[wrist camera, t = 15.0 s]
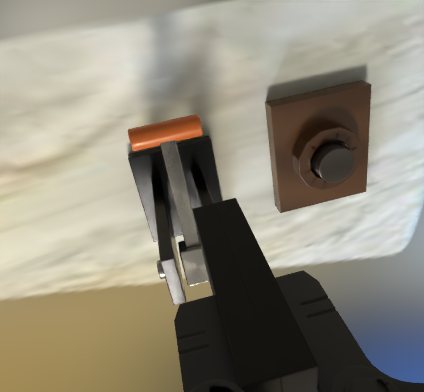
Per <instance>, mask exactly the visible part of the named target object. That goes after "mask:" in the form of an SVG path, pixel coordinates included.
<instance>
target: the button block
mask: <svg viewBox="0 0 424 392" xmlns="http://www.w3.org/2000/svg"><path fill="white" fill-rule="evenodd" d="M370 99H371V84H369V83H367V82H365V81H357V82H353V83H348V84H344V85H340V86H335V87H331V88H326V89H322V90H317V91H313V92H309V93H304V94H300V95H295V96H291V97H287V98H282V99H278V100H273V101H269V102H265V105H266V115H267V125H268V135H269V146H270V156H271V166H272V176H273V187H274V197H275V206H276V207H277V209H278V210H279V212H280V213H282V212H286V211H290V210H294V209H298V208H302V207H306V206H310V205H314V204H318V203H322V202H326V201H330V200H334V199H338V198H342V197H346V196H350V195H354V194H358V193H362V192H366V184H367V163H368V142H369V120H370ZM328 142H338V143H340V144H342V145H343V146H345V147H346V148H347V149H348V150H350V151H351V152H352V153H353V155H354V159H355V162H354V167H353V169H352V171H351V173H350V174H349V175H348V176H347V177H346V178H344V179H343V180H341V181H338V182H327V181H325V180H323V179H322V178H321V177H320V176H319V175H318V174H317V173H316V172H315V170H314V169H313V166H312V158H313V155H314V153H315V152H316V150H317V149H318V148H319V147H320V146H322V145H323V144H325V143H328Z"/></svg>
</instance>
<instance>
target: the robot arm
mask: <svg viewBox="0 0 424 392" xmlns="http://www.w3.org/2000/svg"><path fill="white" fill-rule="evenodd" d="M192 210H193V214H194V218H195V223H196V227H197V231H198V235H199V240H200V244H201V248H202V253H203V257H204V261H205V266H206V270H207V274H208V277H209V281H210V285H211V289H212V292H213V296H209V297H205V298H201V299H198V300H194V301H190V302H186V303H183V304H180V305H179V308H178V312H177V314H176V318H175V320H174V321H175V330H176V336H177V345H178V352H179V360H180V367H181V374H182V382H183V390H184V392H424V383H411V382H404V381H400V380H397V379H394V378H391V377H389V376H388V375H386V374H384V373H382V372H381V371H379V370H378V369H377V368H376V367H374V366H373V365H372V364H371V362H370V361H369V360H368V359H367V357H366V356H365V354H364V353H363V351H362V350H361V348H360V347H359V345H358V343H357V342H356V340H355V339H354V337H353V335H352V334H351V332H350V331H349V329H348V327H347V326H346V324H345V323H344V321H343V320H342V318H341V316H340V315H339V313H338V312H337V311H336V310H335V307H334V305H333V304H332V302H331V301H330V299H328V296H327V294H326V293H325V291H324V289H323V288H322V286H321V285H320V283H319V282H318V281H317V280H316V279H315V278H313V277H312V276H310V275H309V274H308V273H306V272H305V271H299V272H295V273H292V274H288V275H284V276H280V277H276V278H275V277H274V275H273V273H272V271H271V269H270V267H269V265H268V263H267V261H266V259H265V257H264V255H263V253H262V251H261V249H260V247H259V245H258V243H257V241H256V238H255V236H254V234H253V232H252V230H251V228H250V226H249V224H248V222H247V220H246V218H245V216H244V214H243V212H242V210H241V208H240V206H239V204H238V202H237V200H236V198H233V199H229V200H225V201H221V202H217V203H213V204H209V205H205V206H201V207H197V208H193V209H192Z"/></svg>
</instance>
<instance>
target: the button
mask: <svg viewBox="0 0 424 392" xmlns="http://www.w3.org/2000/svg"><path fill="white" fill-rule="evenodd" d="M354 162H355V159H354V155H353V153H352V152H351V151H350V150H348V149H347V148H346V147H345V146H343V145H342V144H340V143H338V142H328V143H325V144H323V145H322V146H320V147H319V148H318V149H317V150H316V152H315V153H314V155H313V158H312V166H313V169H314V170H315V172H316V173H317V174H318V175H319V176H320V177H321V178H322V179H323V180H325V181H327V182H338V181H341V180H343V179H344V178H346V177H347V176H348V175H349V174H350V173H351V171H352V169H353V167H354Z"/></svg>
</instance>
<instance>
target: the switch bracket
mask: <svg viewBox="0 0 424 392" xmlns="http://www.w3.org/2000/svg"><path fill="white" fill-rule="evenodd" d="M176 144H177V148H178V152H179V156H180V160H181V165H182V169H183V173H184V177H185V181H186V185H187V190H188V194H189V198H190V202H191V206H192V209H193V208H197V207H201V206H205V205H209V204H213V203H217V202H221V201H222V199H221V194H220V188H219V183H218V177H217V172H216V166H215V161H214V155H213V150H212V144H211V139H210V138H209V136H204V137H200V138H195V139H191V140H187V141H182V142H178V143H176ZM128 160H129V163H130V166H131V169H132V172H133V176H134V179H135V182H136V185H137V189H138V192H139V195H140V198H141V202H142V205H143V208H144V211H145V214H146V218H147V221H148V224H149V227H150V231H151V234H152V237H153V240H154V242H156V241H158V245H159V254H160V260H159V261H157V268H158V272H159V276H160V278H161V279H164V278H166V282H167V285H168V288H169V291H170V294H171V298H172V301H173V304H174V305H176V304H180V303H183V302H186V296H185V291H184V285H183V279H182V274H181V268H180V263H179V257H178V251H177V246H176V240H175V237H176V236H180V235H183V233H182V229H181V225H180V221H179V217H178V213H177V209H176V205H175V201H174V197H173V193H172V189H171V185H170V181H169V177H168V173H167V169H166V165H165V161H164V157H163V153H162V149H161V147H156V148H152V149H148V150H143V151H139V152H135V153H130V154H128ZM192 211H193V210H192ZM193 215H194V214H193ZM194 219H195V218H194Z"/></svg>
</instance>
